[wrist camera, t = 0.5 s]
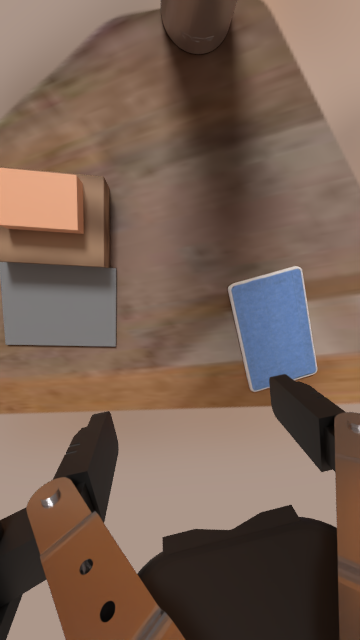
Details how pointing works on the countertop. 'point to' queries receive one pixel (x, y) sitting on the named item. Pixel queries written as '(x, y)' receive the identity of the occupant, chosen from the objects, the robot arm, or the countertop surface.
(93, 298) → the mat
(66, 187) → the orange rectangular block
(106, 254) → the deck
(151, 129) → the countertop surface
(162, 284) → the countertop surface
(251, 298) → the tablet computer
